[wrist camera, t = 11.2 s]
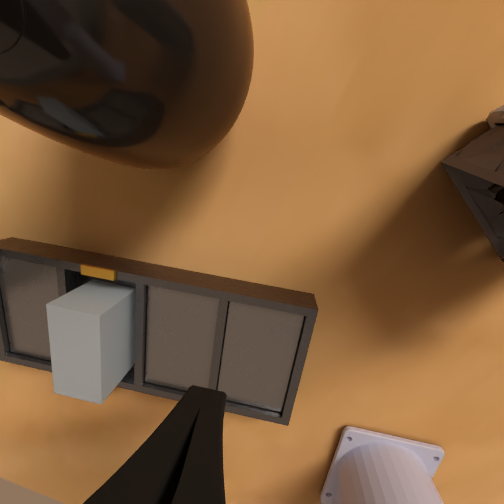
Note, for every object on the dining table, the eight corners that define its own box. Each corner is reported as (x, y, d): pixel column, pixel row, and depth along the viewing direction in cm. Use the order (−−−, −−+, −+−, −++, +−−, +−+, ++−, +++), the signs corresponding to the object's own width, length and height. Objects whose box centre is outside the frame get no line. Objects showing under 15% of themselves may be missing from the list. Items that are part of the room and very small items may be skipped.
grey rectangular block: (134, 363, 21) (101, 404, 17) (95, 354, 21) (54, 392, 17) (136, 288, 19) (99, 315, 15) (93, 279, 19) (46, 304, 15)
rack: (287, 400, 21) (288, 428, 19) (27, 343, 23) (-3, 362, 20) (314, 293, 18) (318, 310, 16) (12, 236, 20) (-25, 244, 17)
